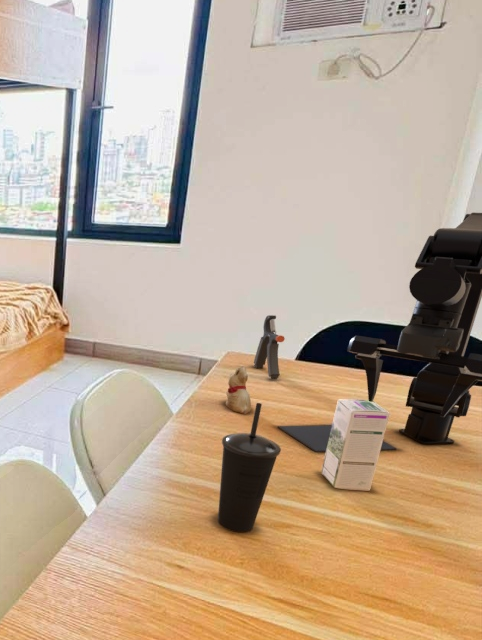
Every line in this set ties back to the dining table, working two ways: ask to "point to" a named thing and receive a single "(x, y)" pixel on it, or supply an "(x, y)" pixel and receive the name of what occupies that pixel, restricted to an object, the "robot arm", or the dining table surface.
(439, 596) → the dining table surface
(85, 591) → the dining table surface
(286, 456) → the dining table surface
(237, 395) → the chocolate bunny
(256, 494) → the drinking cup
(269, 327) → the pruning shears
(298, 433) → the placemat
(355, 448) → the syrup box
